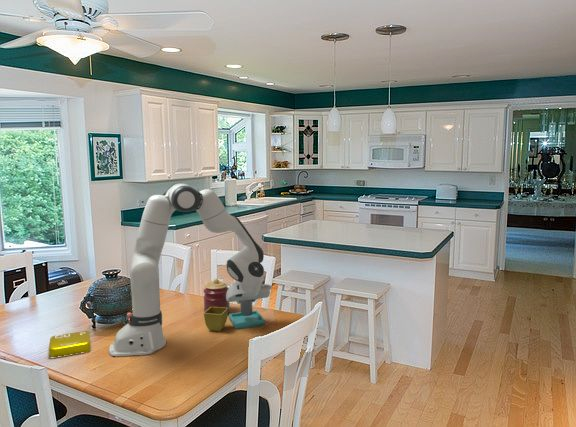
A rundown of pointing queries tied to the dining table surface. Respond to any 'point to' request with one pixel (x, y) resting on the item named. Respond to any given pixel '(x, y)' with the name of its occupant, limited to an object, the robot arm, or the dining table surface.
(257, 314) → the tray
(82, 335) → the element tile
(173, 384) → the dining table surface
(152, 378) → the dining table surface
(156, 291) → the robot arm
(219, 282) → the canister
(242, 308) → the dark grey cylinder
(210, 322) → the flower pot
